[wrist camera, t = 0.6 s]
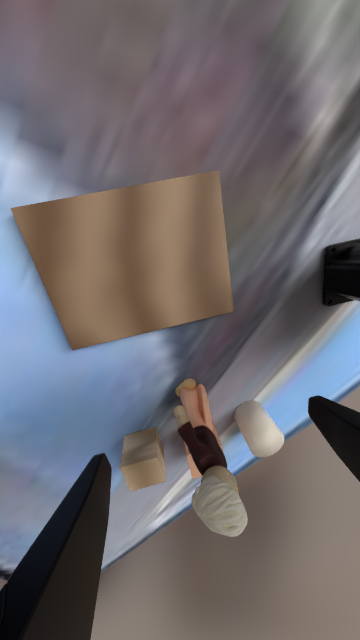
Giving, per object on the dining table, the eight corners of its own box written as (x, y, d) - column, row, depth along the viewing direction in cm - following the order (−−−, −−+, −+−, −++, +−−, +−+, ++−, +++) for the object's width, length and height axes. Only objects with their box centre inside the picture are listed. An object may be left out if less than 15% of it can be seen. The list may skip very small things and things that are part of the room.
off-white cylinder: (261, 397, 25) (284, 425, 21) (263, 420, 27) (284, 451, 22) (232, 405, 25) (249, 435, 21) (235, 428, 26) (251, 461, 22)
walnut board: (214, 176, 17) (218, 170, 15) (229, 308, 21) (233, 311, 20) (20, 211, 15) (10, 208, 14) (76, 344, 19) (72, 350, 18)
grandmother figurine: (221, 397, 24) (289, 534, 12) (198, 416, 25) (244, 566, 13) (178, 361, 22) (213, 489, 10) (154, 383, 22) (160, 531, 10)
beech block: (156, 425, 24) (157, 457, 21) (163, 448, 26) (165, 481, 22) (124, 434, 24) (119, 467, 20) (133, 456, 25) (130, 491, 22)
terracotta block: (210, 416, 25) (221, 445, 21) (215, 439, 27) (225, 469, 23) (181, 425, 25) (186, 455, 21) (186, 447, 26) (192, 479, 23)
